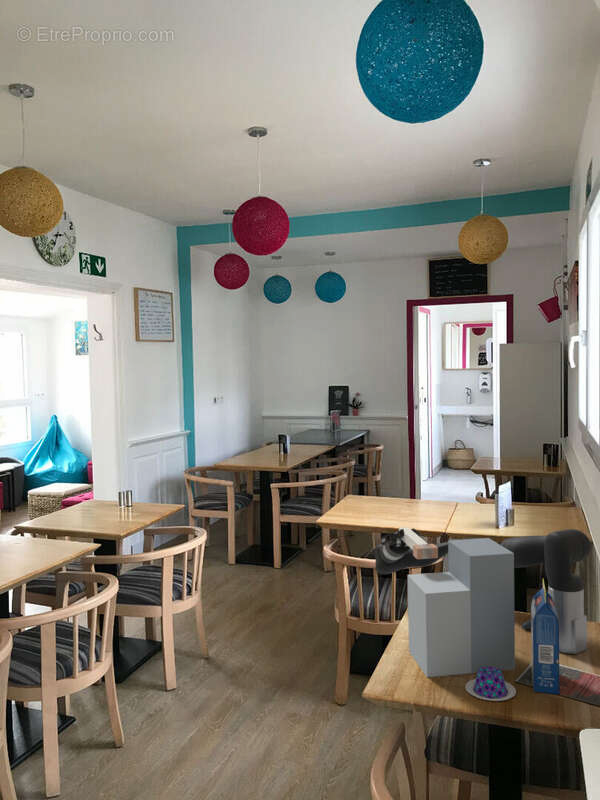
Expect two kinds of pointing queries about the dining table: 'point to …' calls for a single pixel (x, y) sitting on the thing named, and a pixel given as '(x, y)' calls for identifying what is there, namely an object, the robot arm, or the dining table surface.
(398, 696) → the dining table surface
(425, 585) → the riser
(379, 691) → the dining table surface
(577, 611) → the robot arm
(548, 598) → the blue food package
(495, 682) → the pudding
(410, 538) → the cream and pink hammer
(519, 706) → the dining table surface
